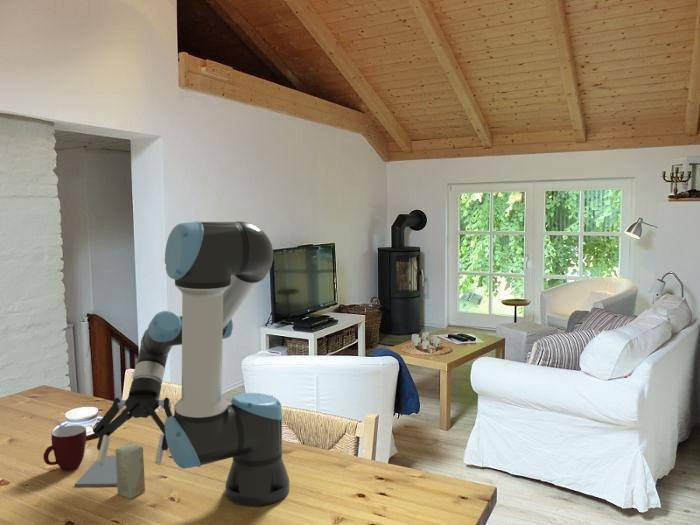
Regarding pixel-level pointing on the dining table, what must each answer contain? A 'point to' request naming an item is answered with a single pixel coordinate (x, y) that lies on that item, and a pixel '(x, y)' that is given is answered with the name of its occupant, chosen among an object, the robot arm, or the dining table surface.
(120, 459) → the box
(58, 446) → the mug
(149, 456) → the dining table surface
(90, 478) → the mat
